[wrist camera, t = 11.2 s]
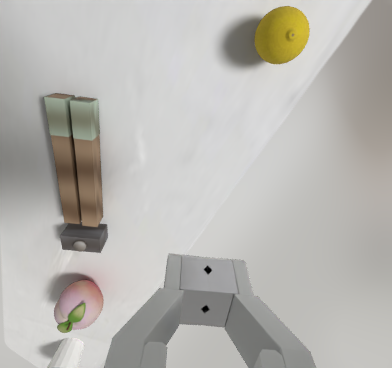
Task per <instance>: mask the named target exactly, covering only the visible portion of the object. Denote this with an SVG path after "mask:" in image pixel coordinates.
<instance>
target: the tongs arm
mask: <svg viewBox="0 0 392 368" xmlns="http://www.w3.org/2000/svg"><path fill="white" fill-rule="evenodd" d="M70 109H71V119H72V130H73V138H74V144H75V155H76V165H77V175H78V186H79V196H80V206H81V217H82V226H91V227H98V225H99V223H100V221H101V219H102V218H103V203H102V182H101V161H100V139H99V134H100V130H99V108H98V99H94V98H86V97H77V98H75V99H72V100H70Z"/></svg>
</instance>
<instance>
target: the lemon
mask: <svg viewBox="0 0 392 368" xmlns="http://www.w3.org/2000/svg"><path fill="white" fill-rule="evenodd" d="M308 38H309V23H308V20H307V18H306V16H305V15H304V14H303V13H302V11H300V10H298V9H297V8H294V7H290V6H284V7H278V8H276V9H273V10H272V11H270V12H269V13H268V14H266V15H265V16H264V18H263V19H262V20H261V21H260V23H259V25H258V27H257V29H256V33H255V48H256V50H257V53H258V54H259V55H260V57H261V58H262V59H263V60H265V61H266V62H269V63H271V64H283V63H287V62H289V61H291V60H293V59H294V58H295V57H297V56H298V55H299V54H300V53H301V52H302V50H303V49H304V47H305V45H306V44H307V41H308Z"/></svg>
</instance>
